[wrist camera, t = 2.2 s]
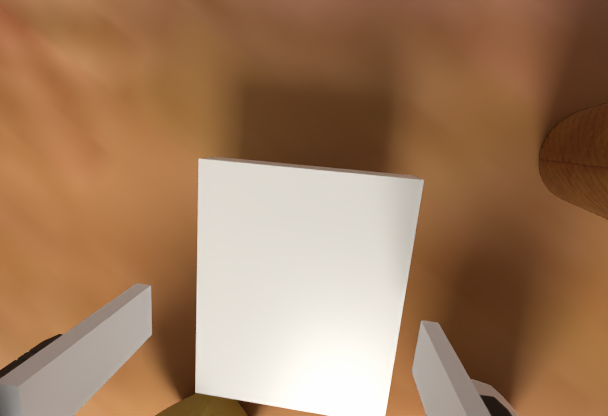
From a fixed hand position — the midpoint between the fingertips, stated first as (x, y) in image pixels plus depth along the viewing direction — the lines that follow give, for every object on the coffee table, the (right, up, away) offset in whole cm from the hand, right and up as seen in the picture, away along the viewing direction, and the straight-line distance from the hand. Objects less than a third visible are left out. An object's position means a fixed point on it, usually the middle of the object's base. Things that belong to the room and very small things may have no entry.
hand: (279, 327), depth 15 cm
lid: (+1, +1, +5) cm, 6 cm away
